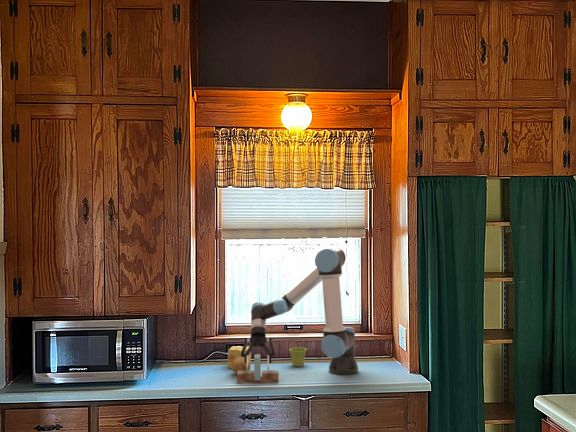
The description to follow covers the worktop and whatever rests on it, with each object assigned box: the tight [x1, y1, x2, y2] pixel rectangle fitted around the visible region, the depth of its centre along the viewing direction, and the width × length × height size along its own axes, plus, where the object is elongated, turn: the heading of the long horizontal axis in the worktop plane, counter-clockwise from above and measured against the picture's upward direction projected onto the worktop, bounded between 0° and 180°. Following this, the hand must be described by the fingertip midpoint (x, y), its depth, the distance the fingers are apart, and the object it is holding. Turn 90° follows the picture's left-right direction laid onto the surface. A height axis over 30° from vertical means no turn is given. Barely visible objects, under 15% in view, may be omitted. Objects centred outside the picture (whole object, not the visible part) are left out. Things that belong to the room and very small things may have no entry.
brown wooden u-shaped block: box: [236, 369, 280, 384], centre depth 321 cm, size 20×6×4 cm, turn 91°
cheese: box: [227, 345, 252, 369], centre depth 352 cm, size 10×11×10 cm
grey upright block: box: [253, 353, 262, 380], centre depth 321 cm, size 8×3×11 cm, turn 1°
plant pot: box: [288, 347, 308, 367], centre depth 353 cm, size 9×9×9 cm
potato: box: [231, 357, 251, 375], centre depth 335 cm, size 10×14×8 cm
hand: (257, 368), depth 319 cm, fingers open, 9 cm apart
